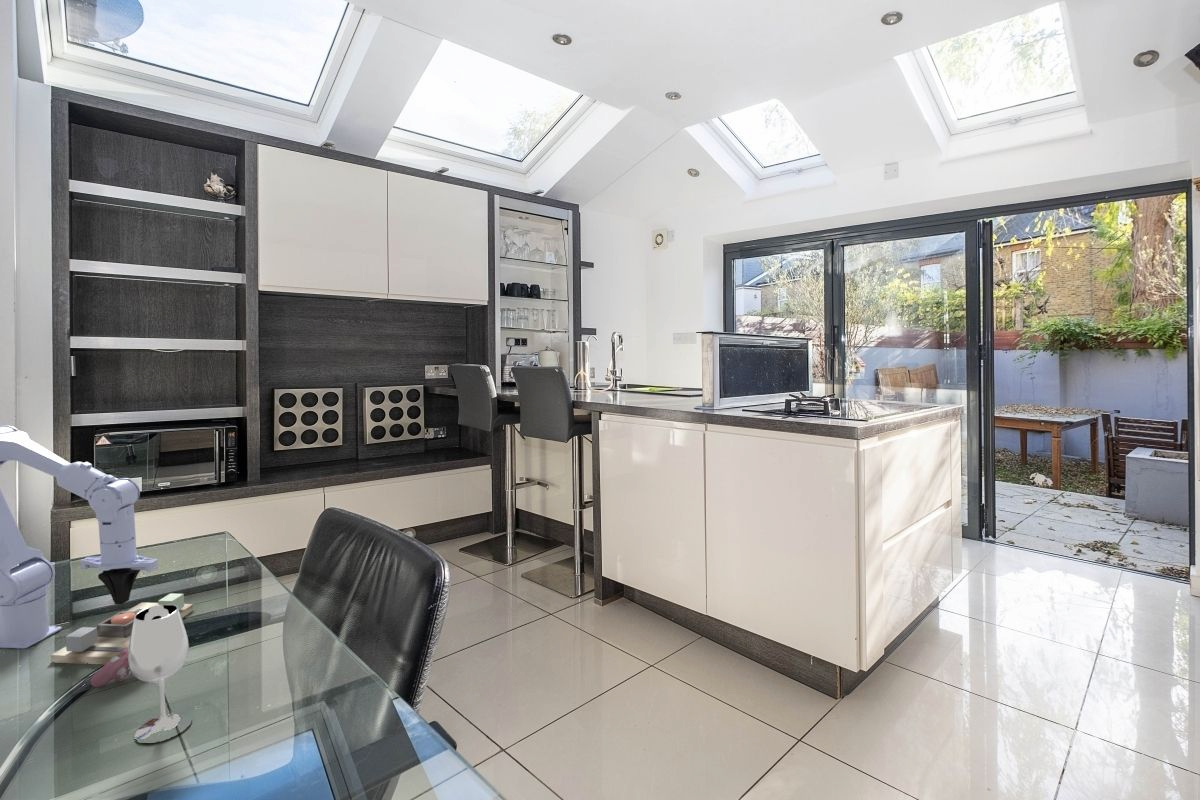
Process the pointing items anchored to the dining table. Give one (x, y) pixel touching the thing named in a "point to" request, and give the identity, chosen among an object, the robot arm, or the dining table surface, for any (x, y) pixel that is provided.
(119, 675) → the video game controller
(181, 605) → the pale green block
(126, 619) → the pink round button
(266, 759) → the dining table surface
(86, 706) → the dining table surface
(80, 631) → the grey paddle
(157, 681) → the wineglass
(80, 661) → the control board
